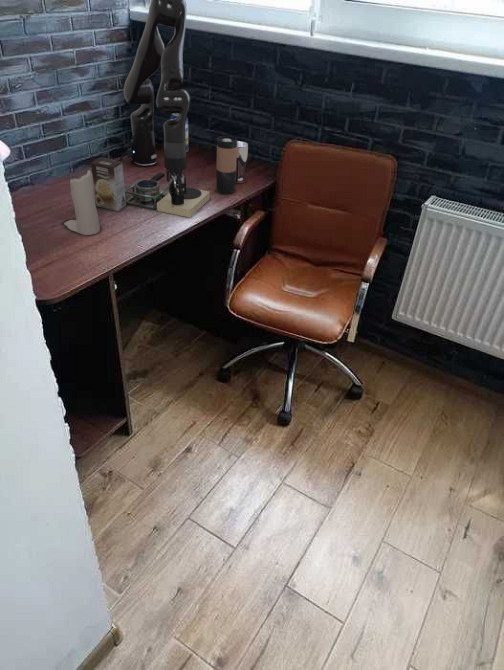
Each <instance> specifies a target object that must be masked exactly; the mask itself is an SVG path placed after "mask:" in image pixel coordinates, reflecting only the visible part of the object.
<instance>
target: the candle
mask: <svg viewBox="0 0 504 670" xmlns="http://www.w3.org/2000/svg"><path fill="white" fill-rule="evenodd" d="M86 172H87V173H86V174H84V175H82V176H81V177H80V178H70V180H69V184H70V197H71V198H72V203H73V208H74V214H75V219H69V220H67V221H65V222H64V223H63V225H64V226H66V227H67V229H69V230H70V231H72V232H74V233H77V234H80V235H84V236H89V235H90V236H91V235H95V234H97V233H99V232H100V231H101V226H100V220H99V214H98V210H97V204H96V198H95V189H94V182H93V174H92V170H89V169H88V170H87V171H86Z"/></svg>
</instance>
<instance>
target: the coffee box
mask: <svg viewBox="0 0 504 670" xmlns="http://www.w3.org/2000/svg"><path fill="white" fill-rule="evenodd" d="M90 167H91V172H92V176H93V184H94V197H95V205H96V207H98V208H102V209H107V210H110V211H115V212H119V211H120V210H122V209H123V208H124V207H126V206H127V204H126V199H127V195H126V196H125V190H126V186H125V177H124V175H125V174H124V165H123V161H121V160H116V159H111V158H106V157H102V156H100V157H98V158H97V159H94V160H92V162H90Z"/></svg>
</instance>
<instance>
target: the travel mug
mask: <svg viewBox="0 0 504 670" xmlns="http://www.w3.org/2000/svg"><path fill="white" fill-rule="evenodd" d="M237 141H238V139H237V138H236V137H234V136H231V135H221V136H218V137H216V169H215V171H216V191H217V193H218V194H223V195H230V194H233V193H235V189H236V183H235V178H236V157H237Z"/></svg>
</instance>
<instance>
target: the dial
mask: <svg viewBox="0 0 504 670" xmlns="http://www.w3.org/2000/svg"><path fill="white" fill-rule="evenodd" d="M178 189H179V188H178ZM181 191H182V190H181ZM171 203H172V204H173V205H178V203H177V191H176V189H172V190H171Z"/></svg>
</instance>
